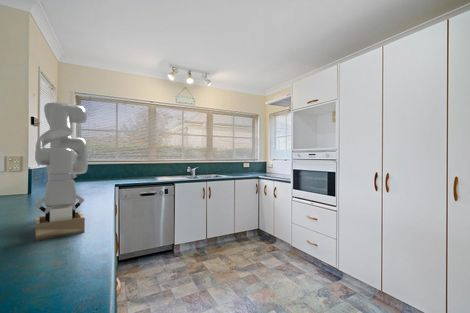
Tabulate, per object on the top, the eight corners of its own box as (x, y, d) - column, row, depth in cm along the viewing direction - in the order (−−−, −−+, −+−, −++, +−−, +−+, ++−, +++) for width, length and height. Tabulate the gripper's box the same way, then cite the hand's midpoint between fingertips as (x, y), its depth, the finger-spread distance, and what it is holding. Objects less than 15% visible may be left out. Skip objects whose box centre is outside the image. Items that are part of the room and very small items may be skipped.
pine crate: (36, 231, 92) (36, 217, 92) (80, 224, 102) (80, 211, 102) (35, 241, 81) (35, 224, 81) (84, 232, 91) (84, 217, 91)
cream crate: (49, 222, 92) (49, 206, 92) (70, 219, 97) (70, 203, 97) (49, 227, 86) (50, 209, 86) (72, 224, 90) (72, 207, 90)
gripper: (85, 176, 100) (84, 215, 100) (33, 178, 89) (32, 222, 88) (87, 177, 95) (86, 219, 94) (32, 179, 83) (31, 227, 83)
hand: (60, 220), depth 91 cm, fingers closed on cream crate, 7 cm apart
